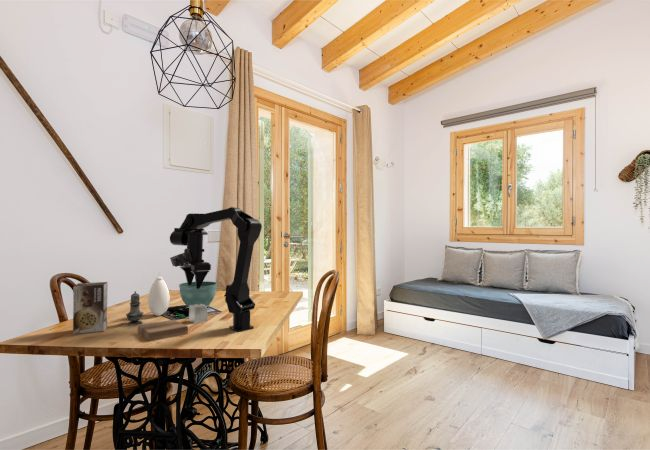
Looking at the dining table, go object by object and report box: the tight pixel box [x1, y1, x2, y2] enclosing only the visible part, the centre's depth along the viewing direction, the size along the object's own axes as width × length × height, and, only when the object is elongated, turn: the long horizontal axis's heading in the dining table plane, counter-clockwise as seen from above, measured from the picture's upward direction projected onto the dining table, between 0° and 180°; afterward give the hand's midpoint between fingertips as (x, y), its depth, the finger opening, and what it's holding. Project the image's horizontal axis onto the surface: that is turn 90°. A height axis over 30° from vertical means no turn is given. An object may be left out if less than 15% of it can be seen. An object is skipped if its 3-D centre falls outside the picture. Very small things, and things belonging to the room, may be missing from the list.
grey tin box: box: [188, 304, 208, 324], centre depth 137 cm, size 5×5×6 cm
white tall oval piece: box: [147, 270, 171, 317], centre depth 145 cm, size 8×8×18 cm
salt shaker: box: [125, 290, 144, 326], centre depth 133 cm, size 6×6×12 cm
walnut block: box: [137, 319, 189, 342], centre depth 120 cm, size 12×12×3 cm
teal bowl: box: [178, 280, 218, 308], centre depth 160 cm, size 16×16×11 cm
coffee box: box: [72, 281, 108, 335], centre depth 123 cm, size 9×6×16 cm
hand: (193, 286), depth 137 cm, fingers open, 9 cm apart
